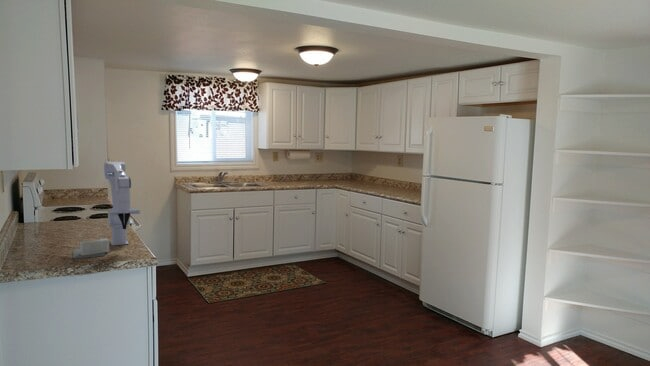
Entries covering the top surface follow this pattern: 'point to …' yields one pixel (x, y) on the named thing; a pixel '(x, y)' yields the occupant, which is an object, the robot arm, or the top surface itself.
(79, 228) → the top surface
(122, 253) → the top surface
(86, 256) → the mat
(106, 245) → the skincare box
